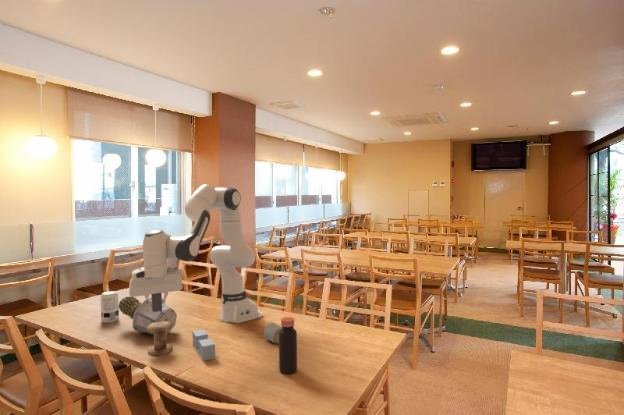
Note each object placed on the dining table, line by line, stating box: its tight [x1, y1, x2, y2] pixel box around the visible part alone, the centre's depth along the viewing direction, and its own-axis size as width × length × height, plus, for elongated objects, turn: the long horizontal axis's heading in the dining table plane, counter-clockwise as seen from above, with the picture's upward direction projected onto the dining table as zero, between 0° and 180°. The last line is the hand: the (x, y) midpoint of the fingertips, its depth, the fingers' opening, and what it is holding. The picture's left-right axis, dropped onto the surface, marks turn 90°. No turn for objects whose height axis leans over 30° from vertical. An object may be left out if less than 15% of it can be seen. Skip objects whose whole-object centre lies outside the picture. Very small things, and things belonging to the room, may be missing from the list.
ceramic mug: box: [263, 322, 282, 345], centre depth 174 cm, size 11×8×8 cm
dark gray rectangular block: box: [150, 293, 163, 312], centre depth 155 cm, size 4×4×7 cm
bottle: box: [278, 316, 298, 375], centre depth 145 cm, size 7×7×20 cm
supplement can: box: [100, 290, 120, 324], centre depth 201 cm, size 8×8×15 cm
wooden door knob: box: [147, 321, 174, 356], centre depth 164 cm, size 10×10×11 cm
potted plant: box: [118, 296, 178, 336], centre depth 186 cm, size 18×18×30 cm
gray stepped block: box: [192, 328, 216, 362], centre depth 163 cm, size 5×19×6 cm, turn 29°
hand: (156, 303), depth 155 cm, fingers closed on dark gray rectangular block, 3 cm apart
